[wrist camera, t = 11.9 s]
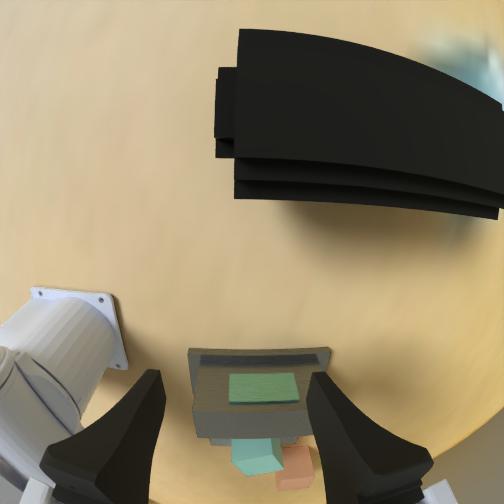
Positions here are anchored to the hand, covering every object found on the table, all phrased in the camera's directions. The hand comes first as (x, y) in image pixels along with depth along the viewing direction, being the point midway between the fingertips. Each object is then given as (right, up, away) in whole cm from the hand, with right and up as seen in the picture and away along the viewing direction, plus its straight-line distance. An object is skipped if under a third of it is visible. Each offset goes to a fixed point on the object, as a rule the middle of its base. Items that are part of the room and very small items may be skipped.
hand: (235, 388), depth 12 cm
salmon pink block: (+6, -20, +17) cm, 27 cm away
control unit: (+1, -4, +11) cm, 12 cm away
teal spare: (+1, -13, +14) cm, 19 cm away
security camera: (+8, +14, +6) cm, 17 cm away
